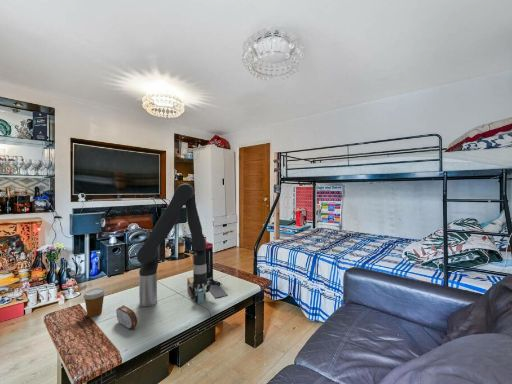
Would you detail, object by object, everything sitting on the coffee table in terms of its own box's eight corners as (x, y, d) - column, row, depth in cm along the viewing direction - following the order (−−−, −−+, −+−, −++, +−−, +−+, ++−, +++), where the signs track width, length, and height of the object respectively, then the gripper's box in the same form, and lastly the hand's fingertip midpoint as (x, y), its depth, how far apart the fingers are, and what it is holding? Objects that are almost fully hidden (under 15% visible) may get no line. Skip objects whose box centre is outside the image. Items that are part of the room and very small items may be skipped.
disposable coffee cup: (100, 318, 123) (99, 294, 122) (79, 319, 121) (79, 296, 121) (108, 308, 132) (108, 287, 132) (89, 310, 130) (89, 288, 130)
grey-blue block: (198, 303, 137) (198, 293, 137) (193, 294, 149) (192, 285, 149) (204, 302, 139) (204, 292, 139) (198, 293, 151) (198, 284, 150)
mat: (215, 298, 144) (215, 297, 144) (206, 287, 160) (206, 286, 160) (227, 295, 147) (227, 294, 147) (218, 285, 163) (218, 284, 163)
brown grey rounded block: (138, 329, 113) (137, 311, 113) (131, 332, 110) (131, 314, 110) (121, 319, 121) (121, 303, 121) (115, 322, 119) (115, 305, 118)
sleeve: (190, 298, 144) (190, 283, 144) (187, 292, 153) (187, 277, 153) (203, 295, 148) (203, 280, 147) (199, 289, 156) (199, 275, 156)
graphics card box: (213, 280, 172) (213, 242, 172) (205, 283, 167) (205, 244, 167) (200, 274, 184) (200, 239, 184) (192, 277, 179) (192, 240, 179)
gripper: (189, 275, 134) (189, 306, 134) (213, 271, 140) (213, 300, 140) (186, 271, 140) (186, 300, 140) (209, 267, 147) (210, 295, 147)
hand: (200, 300), depth 140 cm, fingers closed on grey-blue block, 3 cm apart
